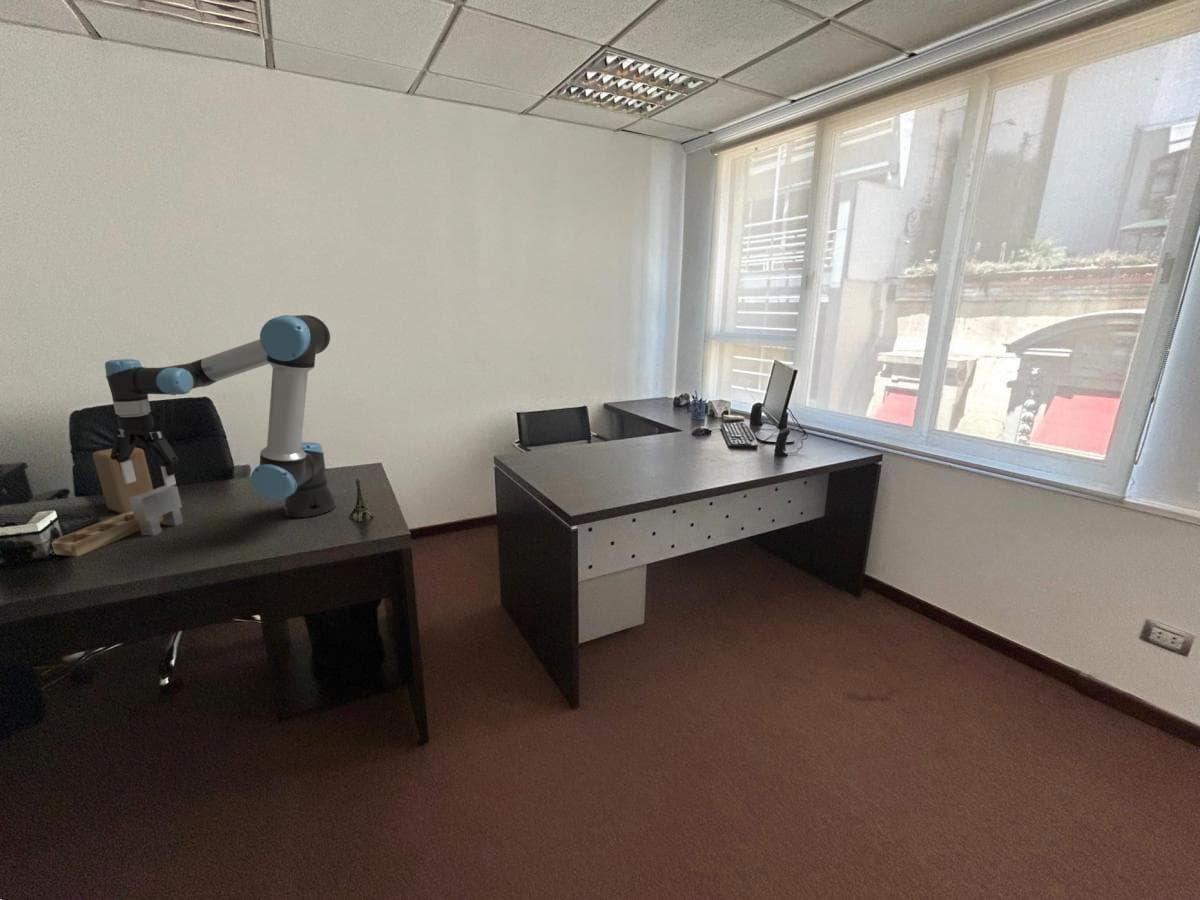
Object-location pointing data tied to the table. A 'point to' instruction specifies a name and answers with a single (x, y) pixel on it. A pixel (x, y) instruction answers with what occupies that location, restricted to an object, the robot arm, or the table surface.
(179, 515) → the grey concrete brick
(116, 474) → the wooden block
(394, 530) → the table surface
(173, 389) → the robot arm
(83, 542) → the rail
